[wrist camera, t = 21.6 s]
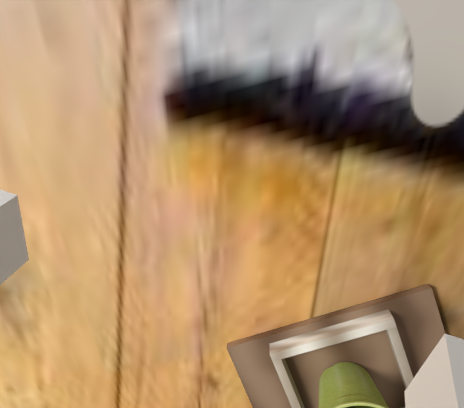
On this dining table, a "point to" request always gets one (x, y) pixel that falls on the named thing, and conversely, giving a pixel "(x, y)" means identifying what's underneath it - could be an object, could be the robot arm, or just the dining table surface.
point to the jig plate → (341, 350)
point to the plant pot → (348, 388)
